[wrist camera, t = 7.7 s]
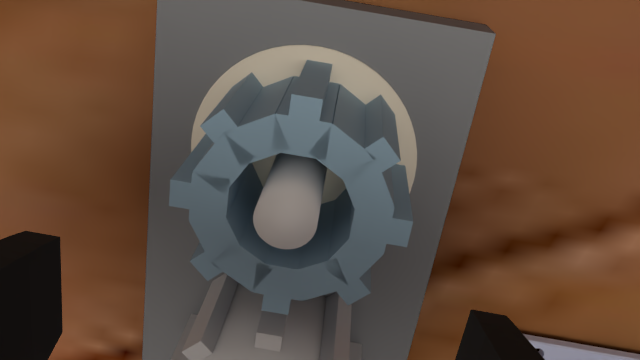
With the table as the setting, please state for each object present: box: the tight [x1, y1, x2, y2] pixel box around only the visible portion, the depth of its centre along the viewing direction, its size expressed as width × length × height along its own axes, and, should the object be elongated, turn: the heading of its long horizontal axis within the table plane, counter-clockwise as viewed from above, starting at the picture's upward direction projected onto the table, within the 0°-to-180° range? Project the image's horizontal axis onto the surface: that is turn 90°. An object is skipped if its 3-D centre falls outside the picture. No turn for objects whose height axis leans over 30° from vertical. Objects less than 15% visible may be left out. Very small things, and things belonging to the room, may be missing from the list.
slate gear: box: [169, 60, 413, 315], centre depth 16 cm, size 6×6×4 cm
